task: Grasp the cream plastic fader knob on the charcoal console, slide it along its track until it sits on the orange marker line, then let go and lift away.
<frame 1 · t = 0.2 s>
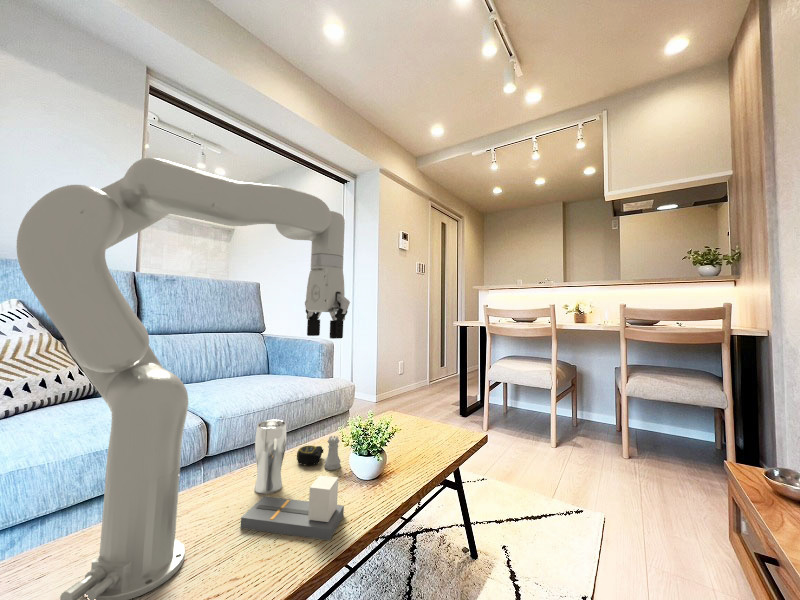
hand: (324, 336, 78), 36 cm above the table, fingers open, 9 cm apart
console: (293, 521, 67), on the table
tape measure: (311, 462, 95), on the table
fader knob: (323, 497, 66), point 5 cm above the table, slide at 0.0 cm
rook chess piece: (332, 467, 92), on the table
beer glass: (268, 488, 80), on the table
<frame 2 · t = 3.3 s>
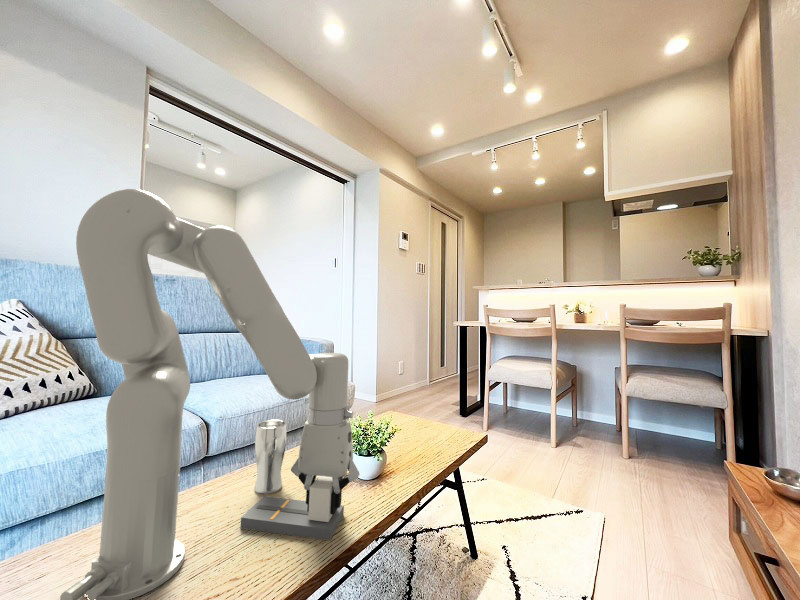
hand: (323, 508, 66), 3 cm above the table, fingers closed on fader knob, 4 cm apart
tape measure: (315, 462, 95), on the table
fader knob: (323, 497, 66), point 5 cm above the table, slide at 0.0 cm, touching gripper
everything else where it was.
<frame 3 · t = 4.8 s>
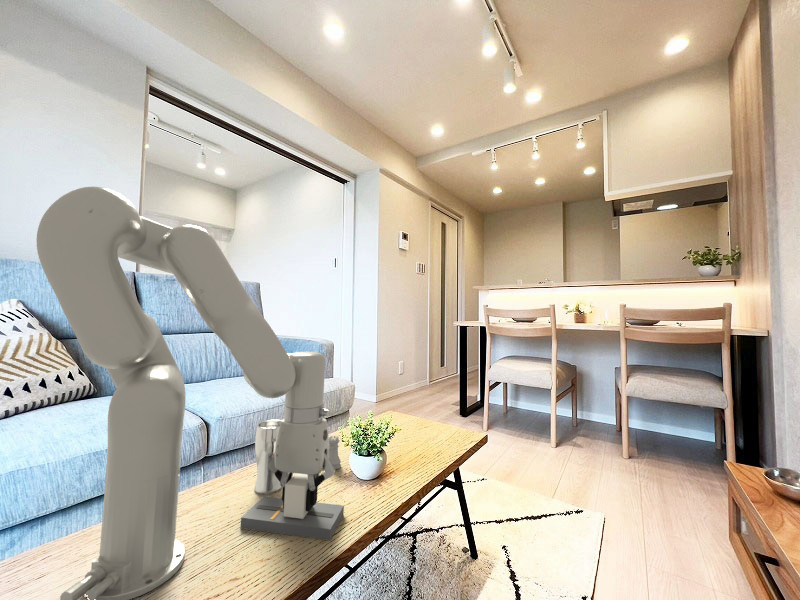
hand: (299, 505, 67), 3 cm above the table, fingers closed on fader knob, 4 cm apart
fader knob: (299, 494, 67), point 5 cm above the table, slide at 5.1 cm, touching gripper
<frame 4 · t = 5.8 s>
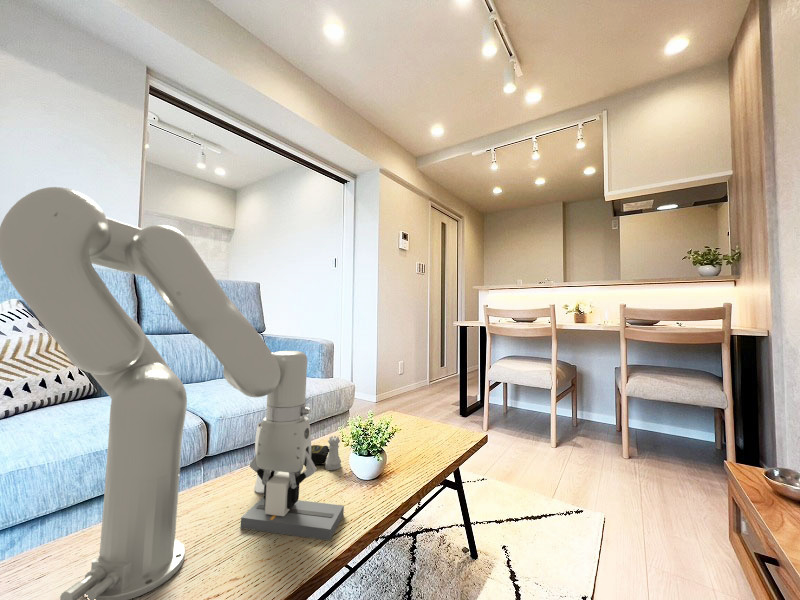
hand: (281, 503, 68), 3 cm above the table, fingers closed on fader knob, 4 cm apart
fader knob: (281, 492, 68), point 5 cm above the table, slide at 9.0 cm, touching gripper
everything else where it was.
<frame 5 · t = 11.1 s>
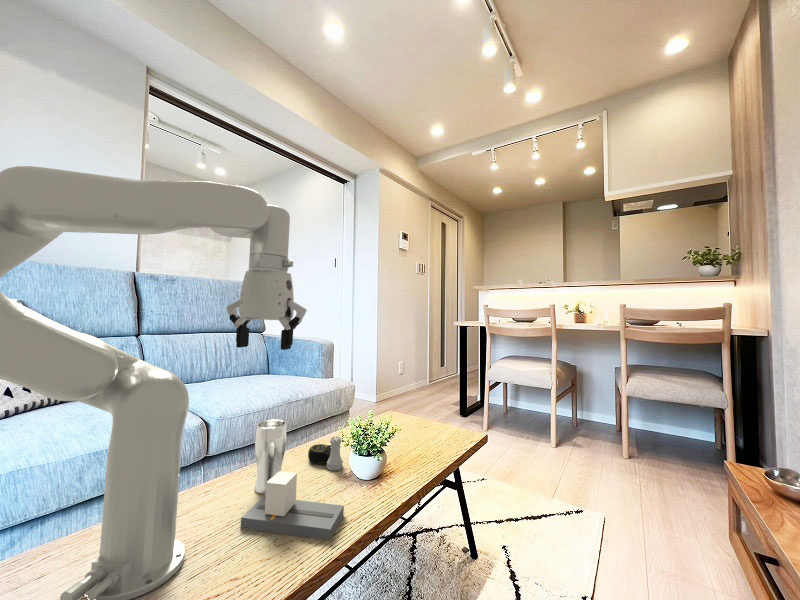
hand: (263, 348, 69), 34 cm above the table, fingers open, 9 cm apart
tape measure: (322, 461, 96), on the table
fader knob: (281, 492, 68), point 5 cm above the table, slide at 9.0 cm
everything else where it was.
at the end: fader knob slide at 9.0 cm; the gripper is holding nothing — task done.
